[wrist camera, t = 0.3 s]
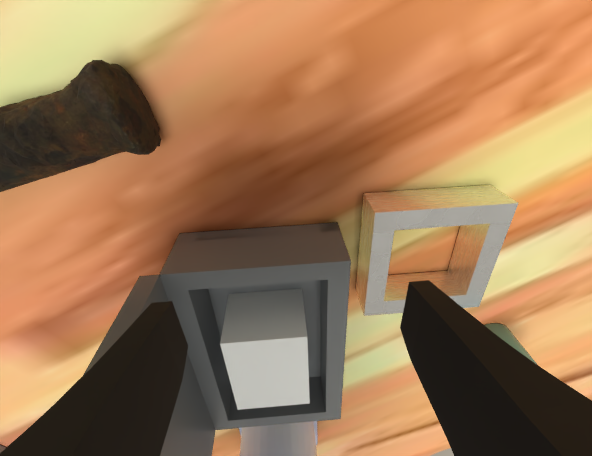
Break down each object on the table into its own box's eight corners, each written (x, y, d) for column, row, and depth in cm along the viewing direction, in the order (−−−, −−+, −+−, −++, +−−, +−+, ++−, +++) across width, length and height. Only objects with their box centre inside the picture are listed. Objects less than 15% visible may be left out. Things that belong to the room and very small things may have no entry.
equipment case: (332, 372, 28) (376, 620, 16) (211, 382, 28) (164, 643, 16) (337, 222, 19) (437, 507, 8) (163, 234, 19) (-19, 552, 7)
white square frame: (459, 281, 23) (478, 306, 21) (355, 289, 23) (364, 315, 21) (490, 184, 19) (518, 203, 17) (363, 193, 18) (375, 212, 16)
